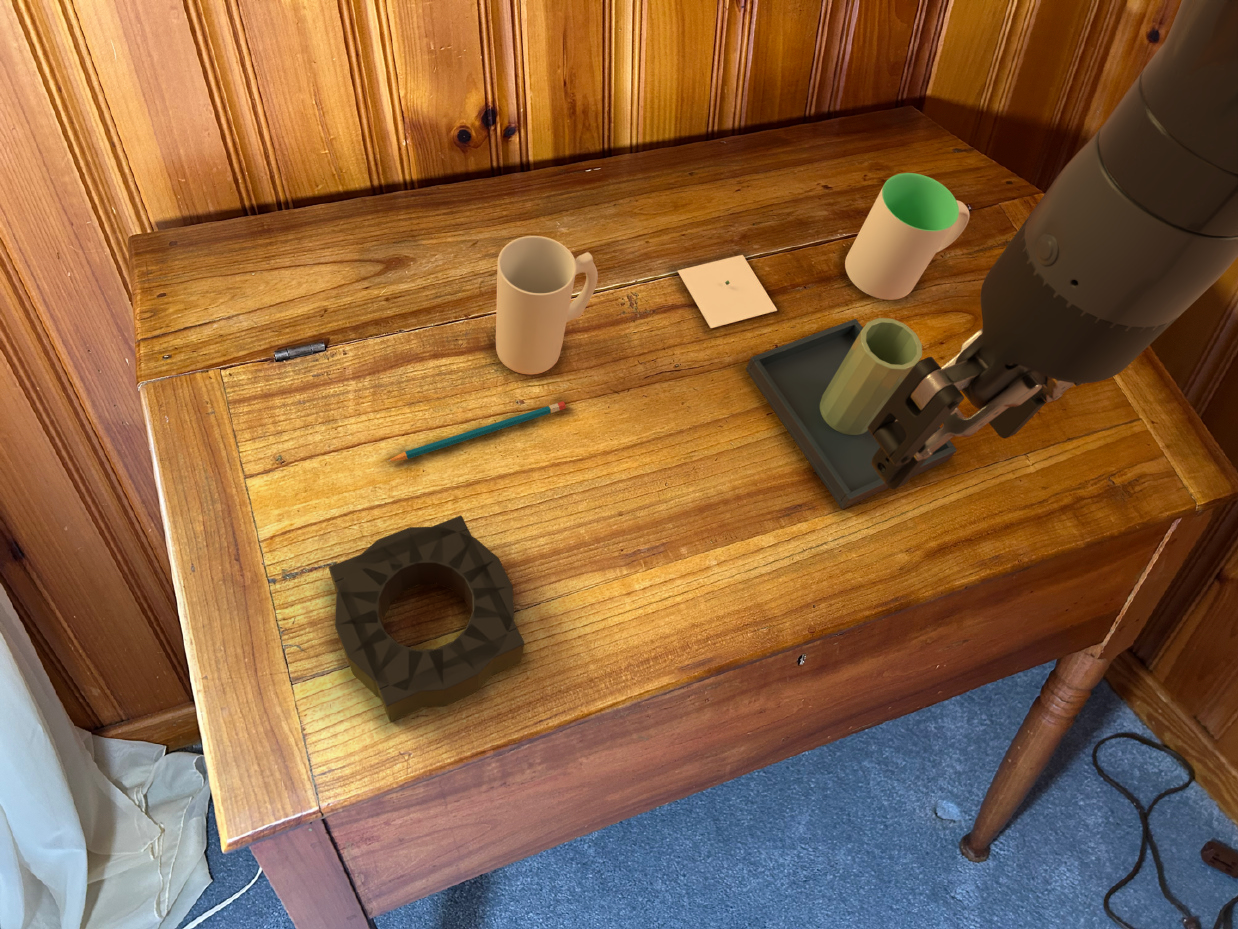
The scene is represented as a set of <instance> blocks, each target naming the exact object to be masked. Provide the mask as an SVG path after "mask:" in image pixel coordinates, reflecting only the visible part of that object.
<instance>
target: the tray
mask: <svg viewBox="0 0 1238 929" xmlns="http://www.w3.org/2000/svg"><path fill="white" fill-rule="evenodd" d="M863 328H864V326H863V325H861V323H860V322H859V321H858V319H857V318H853V319H850V320H848V321H844V322H842V323H840V324H837V325H834V326H831V327H829V328H825V329H824V330H821V331H818V332H816V333H813V334H810V335H808V336H805V337H802V338H799V339H797V340H794V341H791V342H789V343H786V344H782V345H781V346H778V347H775V348H772V349H769V350H767V351H764V352H762V353H758V354H756V355H753V356H751V357H750V358H749V361H748V363H747V365H746V367H745V372H747V374H748V375H749V378H751V380H752V381H753V382H754V384H755V386H756V387H757V389H758V391H759V392H760V393H761V394H762V396H763V397H764V399H765V400H766V402H767V404H769V406H770V408H771V409H772V410H773V412H774V413H775V415H776V416H777V417H778V419H779V421H780V422H781V423H782V425H783V426H784V428H785V429H786V431H787V432H788V433H789V435H790V437H791V438H792V439H793V441H794V442H795V444H796V445H797V446H798V449H799V450H800V451H801V452H802V454H803V455H804V457H805V458H806V460H807V461H808V462H809V464H810V466H811V467H812V468H813V470H814V471H815V473H816V474H817V476H818V477H819V479H820V480H821V482H822V483H823V484H824V486H825V487H826V489H827V491H828V492H829V493H830V495H831V496H832V498H833V499H834V500H835V502H836V503H837V506H839V508H840V509H841V510H844V509H847V508H849V507H850V506H853V505H855V504H857V503H859V502H861V501H864V500H867V499H868V498H870V497H872V496H874V495H877V494H879V493H881V492H883V491H885V490H887V489H891V488H890V487H888V485H887V484H885V483H884V481H883V480H882V479H881V477H880V476H879V474H878V473H877V472H876V470H875V469H874V468H873V466H872V465H871V463H872V458H873V456H874V455H875V454H876V452H877V451H878V450H879V448H880V447H881V446H880V445H879V444H878V442H877V441H876V440H875V438H874V437H873V436H872V434H871V433H870V432H869V430H868V431H867V432H865V433H863V434H859V435H846V434H843V433H840V432H838V431H836V430H834V429H833V428H832V427H830V426H829V425H828V424H827V423H826V421H825V420H824V419H823V417H822V415H821V412H820V401H821V398H822V395H823V394H824V392H825V390H826V389H827V387H828V385H829V384H830V382H831V380H832V379H833V377H834V375H835V374H836V372H837V370H838V369H839V367H840V365H841V364H842V362H843V360H844V359H845V357H846V355H847V354H848V352H849V350H850V349H851V347H852V345H853V344H854V342H855V340H856V339H857V337H858V335H859V334H860V332H861V330H862V329H863ZM941 428H942V427H941V426H940V427H939V428H938V429H937V430H936V431H935V432H937V431H938V430H939V429H941ZM935 432H934V433H935ZM957 451H958V449H957V448H956V446H955V445H954V444H953V443H952V441H951V439H950V440H949V441H947V442H946V443H945V444H944V445H942V446H941V447H940V448H938V449H937V450H936V451H934V452H933V454H932V455H931V456H930V457H928V458H927V459H926V461H925V462H924V463H923V464H922V465H921V466H920V468H919V469H918V470H917V471H916V472H915V474H914V475H913V476H912V477H911V478H910V479H912V478H913V477H916V476H918V475H921V474H922V473H925V472H927V471H929V470H931V469H934V468H936V467H937V466H940V465H942V464H944V463H947V462H948V461H949V460H950V459H951V458H952V457H953V456H954V455H955V454H956V452H957Z"/></svg>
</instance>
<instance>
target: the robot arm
mask: <svg viewBox="0 0 1238 929" xmlns="http://www.w3.org/2000/svg"><path fill="white" fill-rule="evenodd" d="M1237 258H1238V0H1181V2H1180V4H1179V8H1178V10H1177V12H1176V14H1175V16H1174V19H1173V22H1172V24H1171V27H1170V29H1169V32H1168V33H1167V36H1166V38H1165V40H1164V41H1163V43H1162V45H1161V46H1160V47H1159V48H1158V49H1157V51H1156V52H1155V53H1154V54H1153V56H1152V57H1151V58H1150V59H1149V61H1147V64H1146V65H1145V66H1144V68H1143V69H1142V70H1141V72H1140V73H1139V75H1138V76H1137V77H1136V78H1135V80H1134V81H1133V83H1132V84H1131V85H1130V87H1128V90H1127V91H1126V92H1125V94H1124V95H1123V96H1122V98H1121V99H1120V101H1119V102H1118V103H1117V105H1116V106H1115V107H1114V109H1113V110H1112V112H1111V113H1110V114H1109V116H1108V117H1107V118H1106V120H1105V121H1104V123H1103V124H1102V125H1101V127H1099V129H1098V130H1097V131H1096V133H1095V134H1094V135H1093V136H1091V139H1089V140H1088V141H1087V143H1085V145H1084V146H1082V147H1081V148H1080V150H1079V151H1078V152H1077V153H1075V155H1074V156H1073V157H1072V158H1071V159H1070V160H1069V161H1068V162H1067V163H1066V165H1065V166H1064V167H1063V169H1062V170H1061V171H1060V172H1059V173H1058V174H1057V176H1056V177H1055V179H1054V180H1053V182H1052V183H1051V185H1050V186H1049V188H1048V189H1047V191H1046V192H1045V193H1044V194H1043V196H1042V197H1041V199H1040V200H1039V202H1038V203H1037V204H1036V206H1035V207H1034V209H1033V210H1032V211H1031V212H1030V214H1029V215H1028V216H1027V218H1026V219H1025V221H1024V222H1023V224H1022V225H1021V226H1020V228H1019V229H1018V231H1017V232H1016V233H1015V234H1014V236H1013V238H1012V239H1011V240H1010V241H1009V243H1008V245H1007V246H1006V247H1005V249H1004V250H1003V251H1002V252H1001V254H1000V255H999V257H998V258H997V260H996V261H995V262H994V264H993V265H992V267H991V268H990V269H989V270H988V272H987V274H985V277H984V280H983V281H982V284H981V289H980V300H979V301H980V310H981V319H982V320H981V322H982V328H980V329H979V330H978V331H976V332H974V334H973V335H971V336H970V337H968V339H967V340H966V341H964V342H963V343H962V345H961V347H960V351H959V352H958V353H957V354H956V355H954V356H953V357H952V358H951V359H949V361H947V362H946V363H944V364H943V365H942V366H941V365H939V363H938V362H937V361H936V360H935V358H934V357H933V356H927V357H925V358H923V359H920V360H919V361H918V362H917V363H916V365H915V366H914V367H913V368H912V370H911V371H910V372H909V374H908V375H907V376H906V377H905V379H904V380H903V381H902V383H901V384H900V385H899V387H898V388H897V389H896V391H895V392H894V393H893V394H892V396H891V397H890V398H889V400H888V401H887V402H886V404H885V405H884V406H883V408H882V409H881V410H880V411H879V413H878V414H877V415H876V417H875V418H874V419H873V421H872V422H871V423H870V425H869V426H868V428H867V429H868V430H869V432H870V433H871V434H872V436H873V437H874V438H875V440H876V441H877V442H878V444H879V445H880V446H881V447H880V448H879V450H878V451H877V452H876V454H875V455H874V456H873V458H872V463H871V465H872V466H873V468H874V469H875V470H876V472H877V473H878V474H879V476H880V477H881V479H882V480H883V481H884V483H885V484H887V485H888V487H890V488H889V489H892V490H896V489H898V488H900V487H902V486H905V485H906V484H907V483H908V482H909V481H910V479H912V478H913V477H912V476H913V475H914V474H915V472H916V471H917V470H918V469H919V468H920V466H921V465H922V464H923V463H924V462H925V461H926V459H927V458H928V457H930V456H931V455H932V454H933V452H934V451H936V450H937V449H938V448H940V447H941V446H942V445H944V444H945V443H946V442H947V441H949V440H950V441H951V440H952V439H953V438H954V437H959V438H969V437H972V436H973V435H975V434H976V433H977V432H978V431H980V430H981V429H983V428H984V427H985V426H986V425H988V424H989V425H990V426H991V428H992V429H993V430H994V431H995V432H996V434H997V435H998V436H999V437H1000V438H1002V439H1008V438H1010V437H1012V436H1014V435H1016V434H1017V433H1019V431H1020V430H1021V429H1022V428H1023V427H1024V426H1025V425H1027V423H1028V422H1029V421H1030V420H1031V419H1032V418H1033V417H1034V416H1035V415H1036V414H1037V413H1038V412H1039V411H1040V410H1041V409H1042V408H1043V407H1044V405H1045V404H1046V403H1047V404H1049V403H1051V402H1053V401H1054V402H1055V401H1057V400H1059V399H1060V398H1061V397H1063V394H1064V393H1065V392H1066V391H1068V390H1069V389H1070V388H1072V387H1073V386H1075V387H1079V386H1081V385H1086V384H1092V383H1093V384H1094V383H1098V382H1099V383H1100V382H1102V381H1105V380H1108V379H1112V378H1113V377H1116V376H1117V375H1118V374H1120V373H1121V372H1123V371H1124V370H1125V369H1126V368H1128V367H1129V365H1131V363H1132V362H1133V361H1135V360H1136V359H1137V358H1138V357H1139V356H1140V355H1141V354H1142V353H1143V352H1144V351H1145V350H1146V349H1147V348H1148V347H1149V346H1150V345H1151V344H1152V343H1153V342H1155V340H1157V339H1158V337H1159V336H1161V335H1162V334H1163V333H1164V332H1165V331H1166V330H1167V329H1168V328H1169V327H1170V326H1171V325H1172V324H1173V323H1174V322H1176V321H1177V320H1178V318H1179V317H1181V316H1182V314H1183V313H1185V311H1187V310H1188V309H1189V308H1190V307H1191V306H1192V305H1193V304H1194V303H1195V302H1196V301H1198V299H1199V298H1200V297H1201V296H1202V295H1204V293H1205V292H1206V291H1208V289H1210V287H1212V286H1213V285H1214V284H1215V283H1216V282H1217V281H1218V280H1219V279H1220V278H1221V277H1222V276H1223V275H1224V274H1225V273H1226V271H1227V270H1228V269H1229V268H1230V267H1231V266H1232V265H1233V263H1234V262H1235V261H1236V259H1237ZM965 397H966V399H967V400H968V401H969V402H970V404H971V405H972V406H973V407H975V408H976V409H978V410H977V411H976V412H975V413H973V414H972V415H971V416H969V417H966V416H965V415H964V414H963V412H962V411H961V410H960V409H959V406H960V405H961V403H962V402H963V401H964V399H965ZM939 427H940V428H941V429H939V430H938V431H937V432H935V431H936V430H937V429H938V428H939ZM934 432H935V433H934ZM911 477H912V478H911Z"/></svg>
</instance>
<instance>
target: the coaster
mask: <svg viewBox="0 0 1238 929" xmlns="http://www.w3.org/2000/svg"><path fill="white" fill-rule="evenodd" d="M677 273H678V274H679V276H680V278H681V280H682V281H683V284H684V285H685V287H686V289H687V291H688V292H689V294H690V295H691V297H692V299H693V300H694V303H695V304H696V305H697V307H698V310H700V312H701V314H702V316H703V318H704V319H705V321H706V323H707V324H708V326H709V328H710V329H713V328H718V327H721V326H724V325H728V324H729V325H730V324H732V323H736V322H739V321H743V320H747V319H751V318H755V317H758V316H761V315H765V314H769V313H773V312H777V311H778V309H777V307H776V306H775V304H774V302H773V301H772V300H771V298H770V296H769V295H768V293H767V291H766V289H765V287H763V285H762V283H761V282H760V280H759V278H758V277H757V276H756V274H755V272H754V271H753V269H752V268H751V266H750V264H749V262H748V261H747V259H746V258H745V256H744V255H743V254H740V255H735V256H731V257H727V258H724V259H719V260H714V261H710V262H706V263H703V264H699V265H698V264H697V265H694V266H691V267H687V268H682V269H678V270H677Z"/></svg>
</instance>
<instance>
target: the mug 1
mask: <svg viewBox="0 0 1238 929" xmlns="http://www.w3.org/2000/svg"><path fill="white" fill-rule="evenodd" d="M593 257H594V256H593V255H592V254H591V253H590V252H589V251H586V252H584V253H582V254H579V255H578V256H577V257H576V258H575V256H574V255H573V252H572V251H571V250H570V249H569V248H568V247H567V246H565V245H564V244H563V243H561V242H559V241H557V240H555V239H553V238H550V237H547V236H541V235H526V236H521V237H518V238H516V239H515V238H514V239H513V240H511V241H510V242H508V243H507V244H506V245H504V247H503V248H502V249H501V251H500V252H499V254H498V257H497V270H496V271H497V272H496V314H495V316H496V317H495V348H496V349H495V350H496V354H497V356H498V359H499V360H500V362H501V363H502V364H503V365H504V366H505V367H506V368H508V369H509V370H511V371H512V372H515V373H518V374H522V375H538V374H542V373H544V372H547V371H548V370H551V369H552V368H553V367H554V366H555V365H556V364H557V362H558V360H559V358H560V356H561V352H562V348H563V347H562V346H563V342H564V339H565V338H564V337H565V332H566V326H567V324H568V323H569V322H570V321H573V320H576V319H578V318H580V317H581V316H583V314H584V312H585V310H586V308H587V305H588V304H589V302H590V301H591V299H592V296H593V295H594V293H595V290H596V287H597V285H598V278H599V273H598V268H597V267H596V264H595V263H594V258H593ZM581 273H582V274H585V276H586V278H585V283H584V286H583V288H582V289H581V291H580V293H579V294H578V295H577V296H576V297H575V298H574V299H573V300H572V295H573V291H574V285H575V280H576V276H577V275H579V274H581Z"/></svg>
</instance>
